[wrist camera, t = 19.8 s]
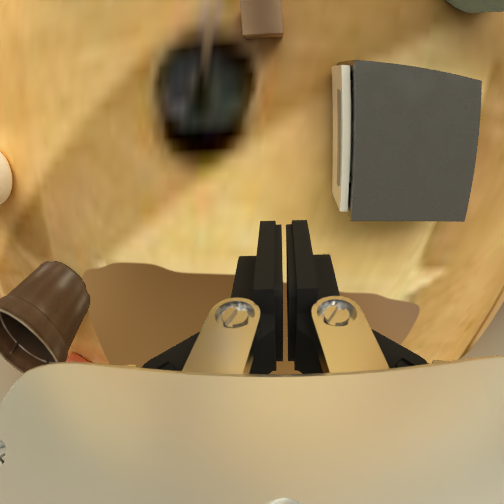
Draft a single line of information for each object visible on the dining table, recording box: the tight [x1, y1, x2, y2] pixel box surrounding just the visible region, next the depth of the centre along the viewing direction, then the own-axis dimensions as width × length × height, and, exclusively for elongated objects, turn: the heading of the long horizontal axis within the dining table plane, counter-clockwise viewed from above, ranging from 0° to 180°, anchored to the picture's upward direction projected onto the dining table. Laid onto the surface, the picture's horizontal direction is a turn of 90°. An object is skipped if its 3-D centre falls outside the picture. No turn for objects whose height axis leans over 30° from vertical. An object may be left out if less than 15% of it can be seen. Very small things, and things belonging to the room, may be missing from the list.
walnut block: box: [240, 0, 284, 39], centre depth 26 cm, size 4×4×4 cm
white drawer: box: [332, 65, 353, 212], centre depth 30 cm, size 13×15×6 cm
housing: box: [338, 60, 482, 222], centre depth 30 cm, size 14×16×8 cm
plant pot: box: [0, 261, 90, 374], centre depth 44 cm, size 16×16×16 cm
